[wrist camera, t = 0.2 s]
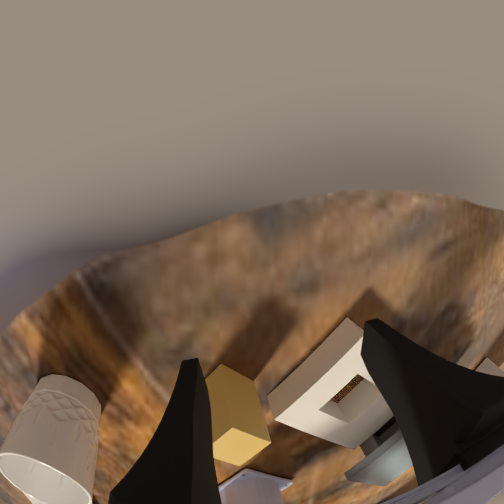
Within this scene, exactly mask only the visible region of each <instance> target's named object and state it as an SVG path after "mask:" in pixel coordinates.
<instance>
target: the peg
mask: <svg viewBox="0 0 504 504" xmlns="http://www.w3.org/2000/svg"><path fill="white" fill-rule="evenodd" d="M205 382H206V385H207V388H208V393H209V399H210V406H211V417H212V439H213V457H214V458H216V459H219V460H222V461H225V462H228V463H231V464H234V465H237V466H240V465H242V464H243V463H245V462H246V461H247V460H249V459H250V458H252V457H253V456H254V455H256V454H257V453H258V452H260V451H261V450H262V449H264V448H265V447H266V446H268V445H269V444H270V443H272V442H271V439H270V436H269V432H268V429H267V426H266V422H265V419H264V416H263V412H262V409H261V405H260V402H259V399H258V395H257V392H256V388H255V385H254V381H252V380H251V379H249V378H247V377H245V376H243V375H241V374H239V373H238V372H236V371H234V370H232V369H230V368H228V367H227V366H225V365H223V364H220V365H219V366H218V367H217V368H216V369H215V370H214V371H213V372H212V373H211V374H210V375H209V376H208V377H207V378H206V379H205Z"/></svg>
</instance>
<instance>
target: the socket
mask: <svg viewBox="0 0 504 504" xmlns="http://www.w3.org/2000/svg"><path fill="white" fill-rule="evenodd" d="M363 333H364V330H362V329H361V328H360V327H359V326H358V325H356V324H355V323H354V322H353V321H351V320H350V319H349V318H348V317H346V318H345V320H344V321H343V322H342V323H341V324H340V325H339V326H338V327H337V328H336V329H335V330H334V331H333V332H332V333H331V334H330V335H329V336H328V337H327V339H326V340H325V341H324V342H323V343H322V344H321V345H320V346H319V347H318V348H317V349H316V350H315V351H314V352H313V353H312V354H311V355H310V356H309V357H308V358H307V359H306V360H305V361H304V362H303V363H302V364H301V365H300V366H299V367H298V368H296V369H295V370H294V371H293V372H292V373H291V374H290V375H289V376H288V377H287V378H286V379H285V380H284V381H283V382H282V383H281V384H280V385H279V386H277V387H276V388H275V389H274V390H273V391H272V392H271V393H270V394H269V395H268V396H267V399H268V402H269V405H270V408H271V411H272V414H273V417H274V420H276V421H279V422H281V423H283V424H286V425H288V426H291V427H293V428H296V429H298V430H301V431H303V432H306V433H309V434H311V435H314V436H317V437H319V438H322V439H325V440H328V441H330V442H333V443H336V444H339V445H342V446H345V447H348V448H351V449H355V448H357V447H358V446H359V445H360V444H362V443H363V442H364V441H365V440H367V439H368V438H369V437H370V436H371V435H373V434H374V433H375V432H376V431H377V430H378V429H380V428H381V427H382V426H383V425H384V424H385V423H386V422H388V421H389V420H390V419H391V418H392V417H393V416H394V415H393V413H392V411H391V409H390V408H389V406H388V404H387V403H386V401H385V399H384V398H383V396H382V394H381V393H380V391H379V390H378V388H377V386H376V385H375V383H374V381H373V380H372V378H371V376H370V375H369V373H368V371H367V369H366V366H365V364H364V362H363V359H362V357H361V355H360V354H361V347H362V340H363ZM357 374H359V375H361V376H362V377H364V379H363V380H362V381H361V382H360V383H359V384H358V385H357V386H356V387H355V388H353V389H352V390H351V391H350V392H349V393H348V394H347V395H346V396H345V397H344V398H343V399H342V400H340V401H339V402H338V403H336V402H334V401H332V400H330V399H331V398H332V397H334V396H335V395H336V394H337V393H338V392H339V391H340V390H341V389H342V388H343V387H344V386H345V385H346V384H348V383H349V382H350V381H351V380H352V379H353V378H354V377H355V376H356V375H357Z"/></svg>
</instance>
